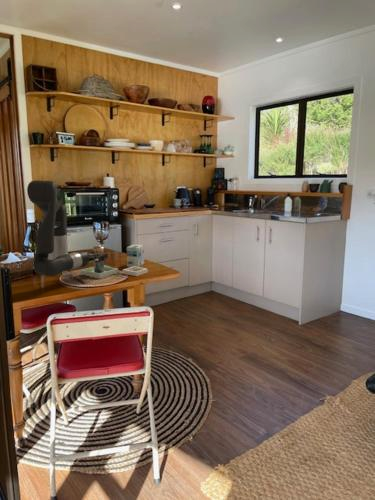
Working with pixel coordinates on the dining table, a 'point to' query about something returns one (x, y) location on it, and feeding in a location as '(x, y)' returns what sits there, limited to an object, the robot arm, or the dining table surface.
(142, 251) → the light bulb box
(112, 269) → the sage tray
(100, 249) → the battery cell
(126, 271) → the checker socket
